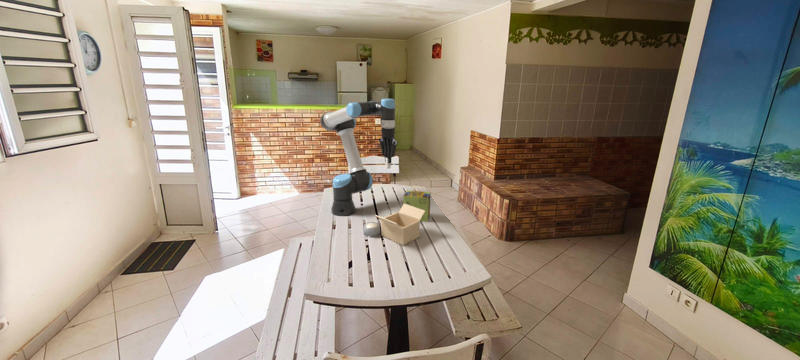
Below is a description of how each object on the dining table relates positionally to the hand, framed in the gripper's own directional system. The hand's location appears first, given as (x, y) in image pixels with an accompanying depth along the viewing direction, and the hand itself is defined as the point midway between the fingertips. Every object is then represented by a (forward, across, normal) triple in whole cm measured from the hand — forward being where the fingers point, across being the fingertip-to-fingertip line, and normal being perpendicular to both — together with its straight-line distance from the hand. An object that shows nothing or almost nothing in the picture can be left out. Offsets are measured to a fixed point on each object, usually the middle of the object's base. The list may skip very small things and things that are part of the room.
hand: (388, 168), depth 196 cm
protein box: (+33, +10, +15) cm, 37 cm away
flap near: (+20, +20, -20) cm, 35 cm away
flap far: (+20, +20, -2) cm, 29 cm away
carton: (+32, +20, -11) cm, 40 cm away
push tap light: (+33, +6, -19) cm, 38 cm away
